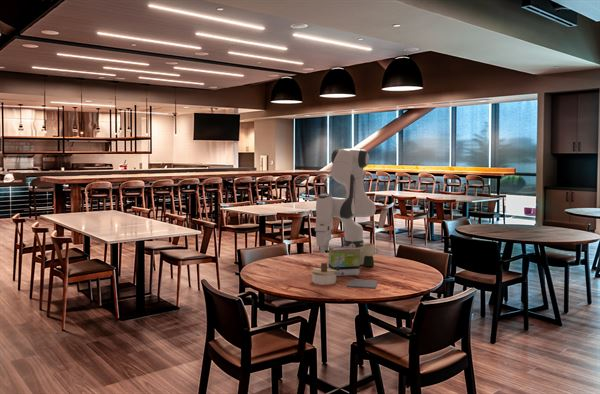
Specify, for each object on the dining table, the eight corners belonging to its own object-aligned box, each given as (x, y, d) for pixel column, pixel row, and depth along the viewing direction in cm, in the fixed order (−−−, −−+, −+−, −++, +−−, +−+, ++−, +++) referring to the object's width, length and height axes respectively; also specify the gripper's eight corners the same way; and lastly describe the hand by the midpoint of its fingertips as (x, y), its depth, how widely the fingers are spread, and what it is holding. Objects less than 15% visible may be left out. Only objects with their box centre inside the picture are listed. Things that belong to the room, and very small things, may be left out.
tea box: (334, 276, 275) (334, 249, 274) (328, 272, 285) (328, 246, 283) (360, 275, 279) (360, 248, 278) (353, 271, 289) (353, 245, 287)
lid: (314, 269, 272) (314, 260, 271) (338, 270, 269) (338, 261, 268) (309, 274, 259) (309, 265, 259) (334, 276, 256) (334, 266, 256)
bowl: (315, 278, 271) (315, 269, 271) (337, 280, 269) (337, 270, 268) (310, 284, 260) (310, 274, 259) (333, 285, 257) (333, 275, 257)
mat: (351, 280, 268) (351, 278, 268) (378, 281, 264) (378, 280, 264) (346, 286, 254) (347, 285, 254) (375, 288, 251) (375, 287, 251)
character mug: (378, 265, 304) (378, 243, 303) (377, 268, 297) (378, 246, 296) (359, 264, 306) (360, 243, 305) (358, 267, 299) (359, 245, 298)
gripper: (322, 222, 273) (322, 247, 274) (314, 228, 253) (314, 255, 254) (334, 222, 271) (334, 248, 273) (326, 228, 251) (326, 256, 253)
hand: (324, 251), depth 263 cm, fingers open, 8 cm apart
